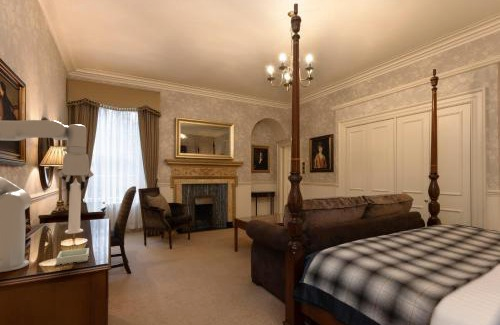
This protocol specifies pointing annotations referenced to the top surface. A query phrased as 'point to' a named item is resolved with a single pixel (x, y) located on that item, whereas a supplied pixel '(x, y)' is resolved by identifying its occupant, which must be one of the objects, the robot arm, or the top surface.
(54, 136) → the robot arm
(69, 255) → the tray
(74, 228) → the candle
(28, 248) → the top surface
